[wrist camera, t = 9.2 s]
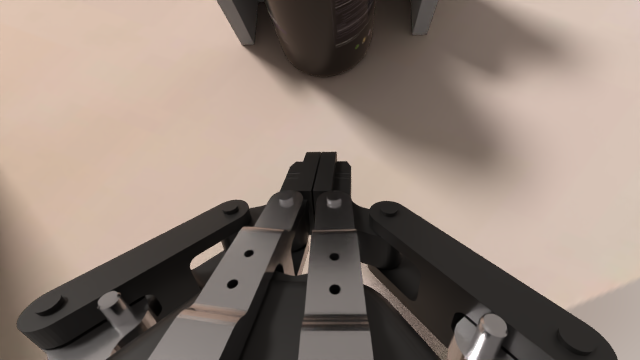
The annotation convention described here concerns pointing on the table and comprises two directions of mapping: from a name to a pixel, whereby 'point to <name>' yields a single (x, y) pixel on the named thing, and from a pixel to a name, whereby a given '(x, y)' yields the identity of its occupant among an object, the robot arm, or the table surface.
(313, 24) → the supplement bottle
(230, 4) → the panel
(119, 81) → the table surface
